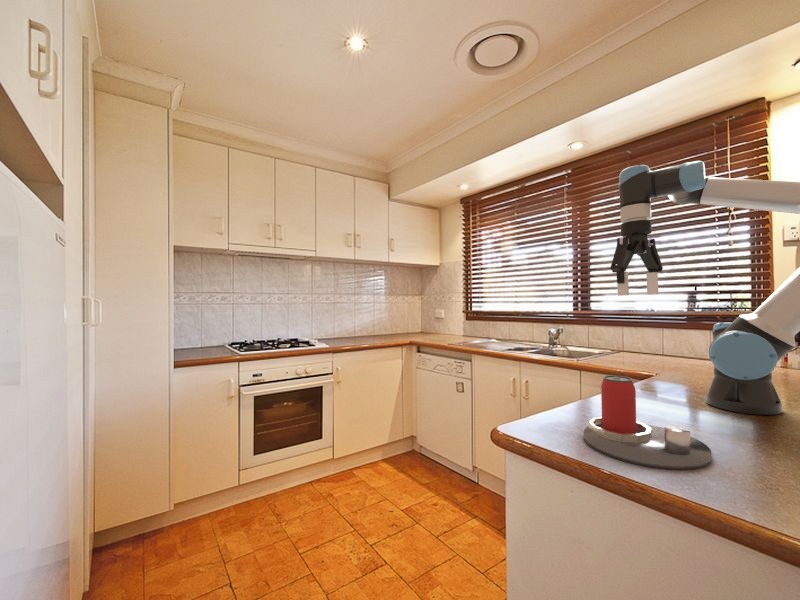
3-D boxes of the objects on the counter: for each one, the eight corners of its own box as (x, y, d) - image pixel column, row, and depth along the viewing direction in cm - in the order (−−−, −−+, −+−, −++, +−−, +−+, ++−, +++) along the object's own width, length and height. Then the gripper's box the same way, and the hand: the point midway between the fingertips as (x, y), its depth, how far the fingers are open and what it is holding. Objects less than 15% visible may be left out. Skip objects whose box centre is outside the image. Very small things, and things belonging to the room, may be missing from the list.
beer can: (631, 428, 83) (630, 375, 83) (640, 438, 76) (639, 382, 76) (599, 425, 85) (598, 374, 85) (605, 435, 79) (604, 380, 79)
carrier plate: (673, 429, 85) (672, 407, 85) (742, 474, 63) (741, 444, 63) (572, 424, 89) (571, 403, 89) (604, 465, 67) (603, 437, 67)
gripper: (648, 226, 114) (651, 294, 113) (594, 221, 103) (597, 296, 103) (675, 221, 107) (677, 293, 107) (620, 215, 96) (623, 295, 96)
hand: (638, 295), depth 105 cm, fingers open, 13 cm apart
